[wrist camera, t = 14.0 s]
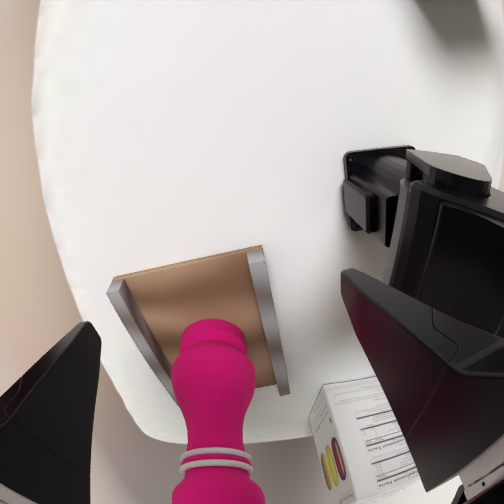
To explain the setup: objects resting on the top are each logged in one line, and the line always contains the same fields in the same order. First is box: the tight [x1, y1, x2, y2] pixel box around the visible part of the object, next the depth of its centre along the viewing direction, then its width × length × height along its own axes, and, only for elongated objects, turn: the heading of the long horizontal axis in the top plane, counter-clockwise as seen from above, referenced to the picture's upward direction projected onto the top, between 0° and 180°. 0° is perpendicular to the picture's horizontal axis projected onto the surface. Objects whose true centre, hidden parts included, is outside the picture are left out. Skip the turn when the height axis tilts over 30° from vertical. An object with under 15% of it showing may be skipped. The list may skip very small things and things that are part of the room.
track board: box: [106, 245, 290, 409], centre depth 26 cm, size 18×13×2 cm
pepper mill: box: [171, 319, 265, 504], centre depth 18 cm, size 7×7×20 cm
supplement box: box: [309, 377, 421, 504], centre depth 29 cm, size 10×9×17 cm
